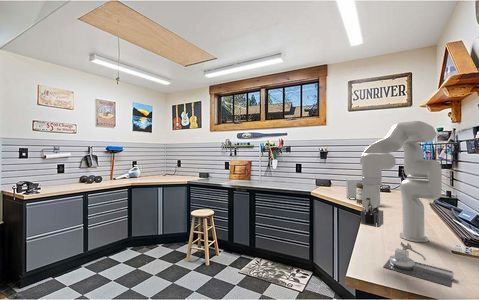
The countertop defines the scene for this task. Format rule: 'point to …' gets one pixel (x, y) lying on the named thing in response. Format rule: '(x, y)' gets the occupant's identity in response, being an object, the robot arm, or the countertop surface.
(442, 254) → the countertop surface
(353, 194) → the hard drive box
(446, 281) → the lever switch plate
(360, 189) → the wooden container
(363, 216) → the socket
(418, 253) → the pliers
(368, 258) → the countertop surface
